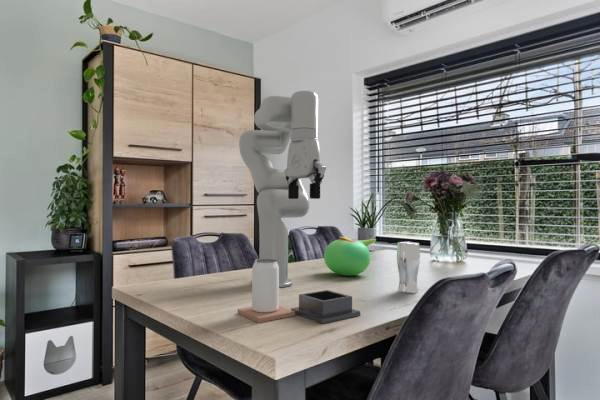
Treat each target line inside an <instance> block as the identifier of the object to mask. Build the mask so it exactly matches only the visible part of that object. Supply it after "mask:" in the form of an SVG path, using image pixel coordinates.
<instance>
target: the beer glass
mask: <svg viewBox="0 0 600 400" xmlns="http://www.w3.org/2000/svg"><path fill="white" fill-rule="evenodd" d="M396 247H397V249H396V263H397V264H396V265H397V269H398V271H397V272H398V276H399V280H398V288H397V291H398V292H399V293H403V294H417V293H419V287H418V275H419V269H420V264H421V263H420V262H421V251H420V250H421V249H420V242H417V241H416V242H413V241H398V242H397V246H396Z"/></svg>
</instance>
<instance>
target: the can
mask: <svg viewBox="0 0 600 400" xmlns="http://www.w3.org/2000/svg"><path fill="white" fill-rule="evenodd" d="M253 262H254V263H253V265H252V268H251V269H252V270H251V274H252V275H251V282H252V284H251V307H252V309H253V310H254V311H255V312H258V313H271V312H275V311H277V309H278V308H279V306H280V305H279V302H280V301H279V300H280V298H279V297H280V294H279V293H280V287H279V266H278V264H277V260H274V259H259V258H258V259H254V261H253Z"/></svg>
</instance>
